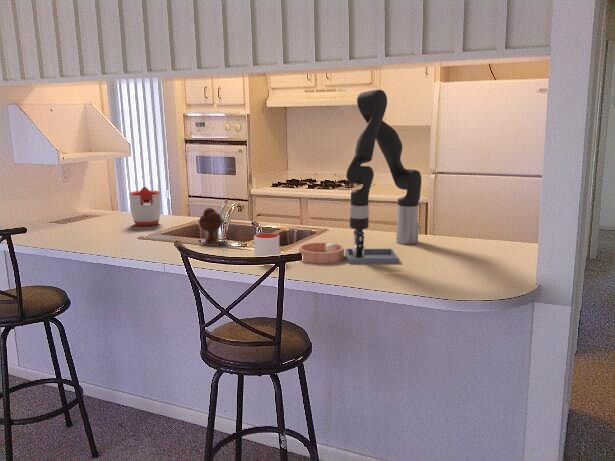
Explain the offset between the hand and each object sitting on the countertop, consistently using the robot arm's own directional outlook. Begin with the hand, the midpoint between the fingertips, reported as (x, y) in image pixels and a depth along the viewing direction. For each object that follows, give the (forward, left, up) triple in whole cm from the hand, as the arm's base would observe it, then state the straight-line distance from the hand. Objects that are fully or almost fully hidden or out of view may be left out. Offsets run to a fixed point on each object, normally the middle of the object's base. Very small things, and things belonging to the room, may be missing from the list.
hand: (358, 257), depth 227 cm
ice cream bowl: (+65, -35, -1) cm, 74 cm away
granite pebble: (0, 0, 0) cm, 0 cm away
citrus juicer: (+105, -73, -1) cm, 128 cm away
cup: (+37, 0, -1) cm, 37 cm away
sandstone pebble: (+11, -2, 0) cm, 11 cm away
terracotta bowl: (+15, -2, -1) cm, 15 cm away
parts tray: (-5, 0, -1) cm, 5 cm away
